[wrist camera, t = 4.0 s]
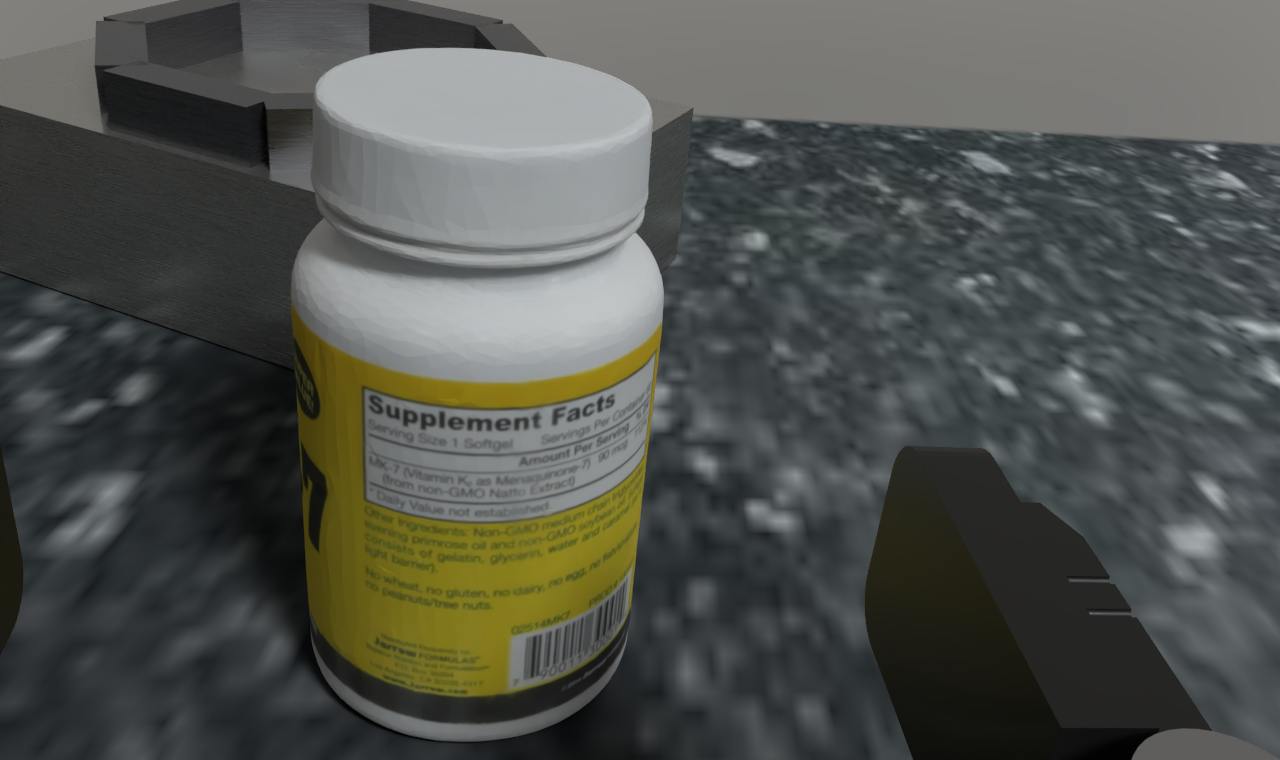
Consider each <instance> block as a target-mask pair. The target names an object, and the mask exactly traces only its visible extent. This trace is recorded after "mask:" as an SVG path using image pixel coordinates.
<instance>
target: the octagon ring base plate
mask: <svg viewBox="0 0 1280 760" xmlns="http://www.w3.org/2000/svg"><path fill="white" fill-rule="evenodd" d="M417 48H472V49H489V50H499V51H509V52H518V53H526V54H531V55H537V56H542V57H546V56H545V55H544V54H543V53H542V52H541V51H540V50H539V49H538V48H537V47H536V46H535V45H534V44H533V43H532V42H531V41H529V40H528V39H527V38H526V37H525V36H524V35H523V34H522V33H521V32H520V31H519V30H518V29H517V28H516V27H515V26H514V25H513V24H503V20H499V19H494V18H490V17H485V16H480V15H475V14H471V13H466V12H461V11H456V10H451V9H447V8H442V7H437V6H433V5H428V4H423V3H418V2H413V1H408V0H179V1H175V2H170V3H166V4H161V5H157V6H152V7H147V8H143V9H139V10H134V11H129V12H125V13H120V14H116V15H111V16H106V17H104V21H96V38H92V39H88V40H83V41H79V42H75V43H71V44H67V45H62V46H58V47H54V48H50V49H46V50H41V51H37V52H32V53H28V54H24V55H20V56H15V57H12V58H7V59H3V60H0V271H2V272H5V273H8V274H11V275H14V276H17V277H20V278H22V279H25V280H28V281H31V282H34V283H37V284H40V285H43V286H46V287H49V288H52V289H55V290H58V291H61V292H64V293H67V294H70V295H73V296H76V297H79V298H82V299H85V300H88V301H91V302H94V303H97V304H100V305H103V306H106V307H109V308H112V309H115V310H118V311H121V312H123V313H126V314H129V315H132V316H135V317H138V318H141V319H144V320H147V321H150V322H153V323H156V324H159V325H162V326H165V327H168V328H171V329H174V330H177V331H180V332H183V333H186V334H189V335H192V336H195V337H198V338H201V339H204V340H207V341H210V342H213V343H216V344H219V345H221V346H224V347H227V348H230V349H233V350H236V351H239V352H242V353H245V354H248V355H251V356H254V357H257V358H260V359H263V360H266V361H269V362H272V363H275V364H278V365H281V366H284V367H287V368H290V369H293V370H295V366H294V339H293V327H292V314H291V282H292V271H293V267H294V262H295V259H296V256H297V254H298V251H299V249H300V248H301V246H302V244H303V242H304V241H305V239H306V237H307V236H308V235H309V234H310V232H311V231H312V230H313V229H314V228H315V227H316V225H317V224H318V223H319V222H320V221H321V220H323V219H324V217H323V216H322V214H321V213H320V211H319V210H318V207H317V203H316V197H315V193H316V192H315V190H314V188H313V186H312V182H311V176H310V173H311V167H312V154H313V91H314V88H315V86H316V84H317V82H318V80H319V79H320V77H321V76H322V75H324V74H325V73H326V72H328V71H329V70H331V69H332V68H334V67H335V66H338V65H340V64H342V63H345V62H347V61H350V60H353V59H356V58H360V57H363V56H367V55H372V54H377V53H383V52H389V51H397V50H406V49H417ZM645 98H646V99H647V100H648V102H649V104H650V107H651V110H652V117H653V126H652V142H651V153H650V167H649V183H648V193H649V195H648V199H647V203H646V205H645V207H644V208H645V214H644V218H643V222H642V223H641V225H640V227H639V228H638V229H637V231H636V233H637V234H638V235H639V237H640V238H641V239H642V240H643V241H644V242H645V244H646V245H647V246H648V248H649V249H650V251H651V253H652V254H653V256H654V258H655V260H656V262H657V265H658V268H659V271H660V272H661V271H662V270H663V269H664V268H665V267H667V266H668V265H669V264H670V263H671V262H672V261H674V260H675V259H676V253H677V245H678V236H679V227H680V219H681V210H682V202H683V193H684V185H685V176H686V168H687V159H688V150H689V142H690V133H691V125H692V116H693V108H692V107H688V106H684V105H679V104H675V103H670V102H666V101H661V100H657V99H652V98H648V97H645Z"/></svg>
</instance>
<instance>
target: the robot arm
mask: <svg viewBox="0 0 1280 760" xmlns="http://www.w3.org/2000/svg"><path fill="white" fill-rule="evenodd" d="M1109 577H1110V576H1109V575H1108V573H1107V572H1106V570H1105V569H1104V567H1103V566H1102V564H1101V563H1100V561H1099V560H1098V558H1097V557H1096V555H1095V554H1094V552H1093V551H1092V549H1091V548H1090V546H1089V545H1088V543H1087V542H1086V540H1085V539H1084V537H1082V536H1081V535H1080V534H1079V533H1077V532H1076V531H1075V530H1074V529H1072V528H1071V527H1070V526H1069V525H1067V524H1066V523H1065V522H1063V521H1062V520H1061V519H1060V518H1058V517H1057V516H1056V515H1055V514H1053V513H1052V512H1051V511H1050V510H1048V509H1047V508H1046V507H1044V506H1043V505H1042V504H1041V503H1029V502H1020V500H1019V499H1018V497H1017V495H1016V494H1015V492H1014V491H1013V489H1012V487H1011V486H1010V484H1009V482H1008V481H1007V479H1006V478H1005V476H1004V474H1003V473H1002V471H1001V469H1000V468H999V466H998V465H997V463H996V461H995V460H994V458H993V457H992V455H991V454H990V453H989V452H988V451H987V450H985V449H982V448H952V447H921V446H906V447H904V448H903V449H902V450H901V451H900V452H899V454H898V456H897V457H896V460H895V463H894V466H893V469H892V473H891V477H890V482H889V486H888V490H887V494H886V499H885V503H884V507H883V511H882V516H881V520H880V524H879V528H878V532H877V537H876V541H875V545H874V549H873V554H872V558H871V562H870V566H869V570H868V575H867V580H866V588H865V617H866V626H867V632H868V637H869V641H870V644H871V647H872V650H873V652H874V655H875V658H876V660H877V663H878V666H879V669H880V671H881V674H882V677H883V679H884V682H885V685H886V687H887V690H888V693H889V695H890V698H891V701H892V704H893V706H894V709H895V712H896V714H897V717H898V720H899V722H900V725H901V728H902V731H903V733H904V736H905V739H906V741H907V744H908V747H909V749H910V752H911V755H912V757H913V760H1280V759H1278V758H1276V757H1275V756H1273V755H1271V754H1270V753H1268V752H1266V751H1265V750H1263V749H1261V748H1258V747H1256V746H1254V745H1252V744H1250V743H1248V742H1245V741H1243V740H1240V739H1238V738H1235V737H1232V736H1229V735H1225V734H1222V733H1218V732H1214V731H1212V730H1211V728H1210V727H1209V725H1208V724H1207V722H1206V721H1205V719H1204V718H1203V716H1202V715H1201V713H1200V712H1199V710H1198V709H1197V707H1196V706H1195V704H1194V703H1193V701H1192V700H1191V698H1190V697H1189V695H1188V694H1187V692H1186V691H1185V689H1184V688H1183V686H1182V685H1181V683H1180V682H1179V680H1178V679H1177V677H1176V676H1175V674H1174V673H1173V671H1172V670H1171V668H1170V667H1169V665H1168V664H1167V662H1166V661H1165V659H1164V658H1163V656H1162V655H1161V653H1160V652H1159V650H1158V649H1157V647H1156V646H1155V644H1154V643H1153V641H1152V640H1151V638H1150V637H1149V635H1148V634H1147V632H1146V631H1145V629H1144V628H1143V626H1142V625H1141V623H1140V622H1139V620H1138V619H1137V618H1132V617H1131V608H1130V607H1129V605H1128V604H1127V602H1126V600H1125V599H1124V597H1123V596H1122V594H1121V593H1120V591H1119V590H1118V588H1117V587H1116V585H1115V584H1110V583H1109ZM22 590H23V562H22V555H21V550H20V544H19V539H18V534H17V529H16V524H15V518H14V513H13V508H12V503H11V498H10V493H9V487H8V482H7V477H6V472H5V467H4V461H3V456H2V451H1V446H0V654H1V652H2V650H3V648H4V646H5V644H6V642H7V640H8V639H9V637H10V635H11V633H12V630H13V628H14V626H15V623H16V620H17V616H18V613H19V609H20V604H21V598H22Z"/></svg>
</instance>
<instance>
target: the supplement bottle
mask: <svg viewBox="0 0 1280 760" xmlns="http://www.w3.org/2000/svg"><path fill="white" fill-rule="evenodd" d="M652 126H653V117H652V110H651V107H650V104H649V102H648V100H647V99H646V98H645V97H644V96H643V94H642V93H640V92H639V91H638V90H637V89H635V88H634V87H632V86H631V85H629V84H627V83H625V82H623V81H622V80H620V79H618V78H615V77H613V76H610V75H609V74H606V73H603V72H600V71H597V70H594V69H591V68H588V67H585V66H582V65H578V64H575V63H571V62H566V61H561V60H557V59H553V58H548V57H542V56H537V55H531V54H526V53H518V52H509V51H499V50H489V49H472V48H417V49H406V50H397V51H389V52H383V53H377V54H372V55H367V56H363V57H360V58H356V59H353V60H350V61H347V62H345V63H342V64H340V65H338V66H335V67H334V68H332V69H331V70H329V71H328V72H326V73H325V74H324V75H322V76H321V77H320V79H319V80H318V82H317V84H316V86H315V88H314V91H313V154H312V167H311V173H310V176H311V182H312V186H313V188H314V190H315V192H316V193H315V197H316V203H317V207H318V210H319V211H320V213H321V214H322V216H323V217H324V219H323V220H321V221H320V222H319V223H318V224H317V225H316V227H315V228H314V229H313V230H312V231H311V232H310V234H309V235H308V236H307V237H306V239H305V241H304V242H303V244H302V246H301V248H300V249H299V251H298V254H297V256H296V259H295V262H294V267H293V271H292V282H291V314H292V327H293V339H294V366H295V378H296V392H297V409H298V429H299V447H300V462H301V487H302V501H303V521H304V539H305V558H306V575H307V589H308V602H309V617H310V629H311V640H312V646H313V650H314V653H315V656H316V659H317V662H318V665H319V667H320V669H321V672H322V674H323V676H324V677H325V679H326V681H327V682H328V684H329V685H330V687H331V688H332V689H333V690H334V691H335V692H336V694H337V695H338V696H339V697H340V698H341V699H342V700H343V701H345V702H346V703H347V704H348V705H349V706H350V707H351V708H353V709H354V710H356V711H357V712H359V713H360V714H361V715H363V716H365V717H366V718H368V719H370V720H372V721H374V722H376V723H378V724H380V725H382V726H384V727H387V728H389V729H392V730H394V731H397V732H400V733H403V734H407V735H410V736H415V737H419V738H425V739H430V740H437V741H452V742H479V741H490V740H498V739H506V738H512V737H517V736H521V735H525V734H529V733H533V732H536V731H539V730H541V729H544V728H547V727H549V726H551V725H554V724H556V723H558V722H560V721H562V720H564V719H566V718H567V717H569V716H571V715H572V714H574V713H575V712H577V711H579V710H580V709H581V708H582V707H584V706H585V705H586V704H588V703H589V702H590V701H591V700H592V699H593V698H594V697H595V696H596V695H597V694H598V693H599V692H600V691H601V690H602V689H603V688H604V687H605V686H606V684H607V683H608V682H609V680H610V679H611V677H612V675H613V674H614V672H615V671H616V669H617V667H618V665H619V662H620V660H621V658H622V655H623V652H624V649H625V645H626V641H627V633H628V626H629V621H630V616H631V599H632V588H633V578H634V569H635V560H636V548H637V540H638V531H639V523H640V512H641V503H642V493H643V487H644V477H645V467H646V458H647V449H648V441H649V433H650V424H651V416H652V409H653V401H654V392H655V383H656V375H657V366H658V357H659V349H660V340H661V331H662V316H663V298H664V290H663V283H662V278H661V274H660V271H659V268H658V265H657V262H656V260H655V258H654V256H653V254H652V253H651V251H650V249H649V248H648V246H647V245H646V244H645V242H644V241H643V240H642V239H641V238H640V237H639V235H638V234H637V233H636V231H637V229H638V228H639V227H640V225H641V223H642V222H643V218H644V214H645V208H644V207H645V205H646V203H647V199H648V195H649V193H648V183H649V167H650V153H651V142H652Z"/></svg>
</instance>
